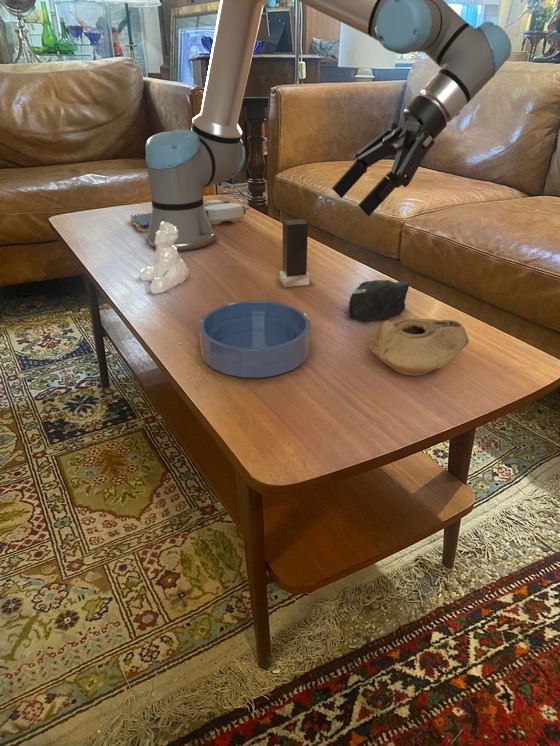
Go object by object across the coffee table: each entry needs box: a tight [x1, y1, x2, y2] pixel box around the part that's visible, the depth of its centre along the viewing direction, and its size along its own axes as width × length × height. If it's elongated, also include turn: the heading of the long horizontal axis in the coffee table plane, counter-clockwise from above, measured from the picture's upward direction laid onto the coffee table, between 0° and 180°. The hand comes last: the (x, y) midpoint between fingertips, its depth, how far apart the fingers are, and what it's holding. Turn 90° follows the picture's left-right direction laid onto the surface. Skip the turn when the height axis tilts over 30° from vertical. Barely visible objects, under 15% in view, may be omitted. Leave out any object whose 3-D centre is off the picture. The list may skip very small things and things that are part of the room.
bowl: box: [198, 300, 311, 379], centre depth 82 cm, size 16×16×5 cm
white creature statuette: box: [140, 221, 189, 295], centre depth 104 cm, size 10×9×12 cm
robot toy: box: [203, 199, 251, 225], centre depth 143 cm, size 12×4×15 cm
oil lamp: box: [368, 318, 470, 376], centre depth 78 cm, size 11×15×8 cm
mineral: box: [348, 279, 410, 322], centre depth 94 cm, size 10×9×6 cm
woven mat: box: [129, 212, 152, 233], centre depth 140 cm, size 10×11×2 cm
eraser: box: [279, 218, 310, 288], centre depth 104 cm, size 5×4×12 cm
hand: (349, 201), depth 102 cm, fingers open, 13 cm apart
